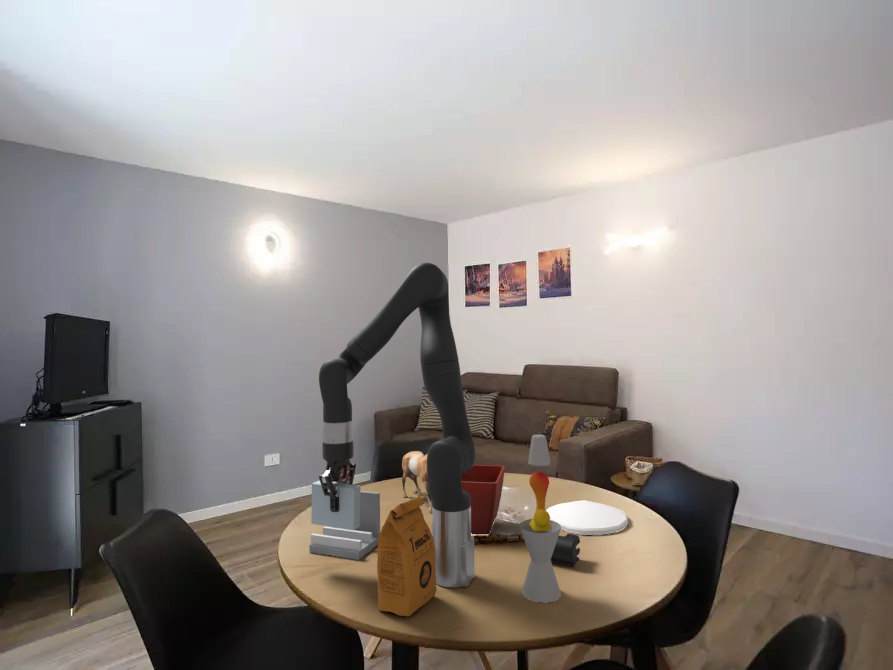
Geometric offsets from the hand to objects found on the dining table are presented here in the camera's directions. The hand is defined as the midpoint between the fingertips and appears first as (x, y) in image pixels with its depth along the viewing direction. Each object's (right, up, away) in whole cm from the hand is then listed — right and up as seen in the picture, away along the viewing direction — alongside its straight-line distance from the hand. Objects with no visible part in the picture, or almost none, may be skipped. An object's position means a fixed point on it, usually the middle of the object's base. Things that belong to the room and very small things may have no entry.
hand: (338, 508), depth 128 cm
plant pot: (+34, -15, +27) cm, 45 cm away
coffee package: (+18, -15, -17) cm, 29 cm away
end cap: (+55, -15, +4) cm, 57 cm away
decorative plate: (+70, -15, +32) cm, 78 cm away
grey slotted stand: (-1, -15, +14) cm, 21 cm away
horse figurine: (+20, -15, +53) cm, 59 cm away
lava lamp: (+48, -15, -13) cm, 52 cm away
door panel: (-1, -4, 0) cm, 4 cm away
